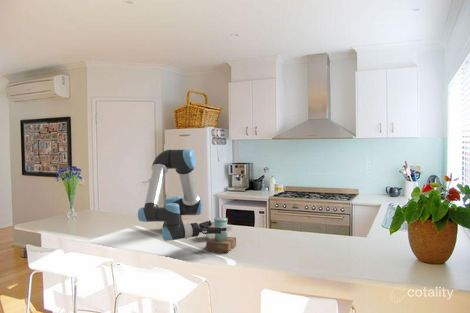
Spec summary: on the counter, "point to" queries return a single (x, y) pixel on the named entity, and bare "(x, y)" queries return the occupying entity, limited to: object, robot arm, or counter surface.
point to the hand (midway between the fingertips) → (226, 225)
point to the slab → (221, 245)
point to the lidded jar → (210, 234)
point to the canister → (219, 223)
